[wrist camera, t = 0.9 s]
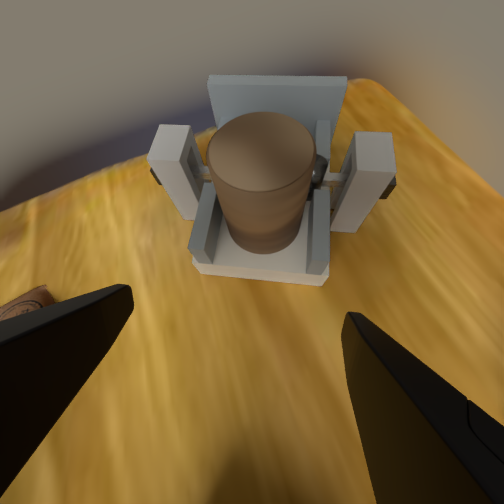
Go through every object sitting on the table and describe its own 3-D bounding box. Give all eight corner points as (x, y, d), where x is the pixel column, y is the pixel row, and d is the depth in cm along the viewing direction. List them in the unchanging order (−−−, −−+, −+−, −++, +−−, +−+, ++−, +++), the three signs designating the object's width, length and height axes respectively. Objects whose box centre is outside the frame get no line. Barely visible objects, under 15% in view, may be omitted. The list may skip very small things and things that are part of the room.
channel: (357, 290, 21) (411, 248, 13) (169, 270, 23) (115, 223, 15) (352, 161, 27) (387, 76, 19) (201, 154, 29) (174, 74, 21)
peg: (286, 265, 20) (296, 208, 12) (215, 240, 21) (185, 175, 14) (309, 202, 22) (330, 121, 14) (244, 183, 23) (232, 100, 16)
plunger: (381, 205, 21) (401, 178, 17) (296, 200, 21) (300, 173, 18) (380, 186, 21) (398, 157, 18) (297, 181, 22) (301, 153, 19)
